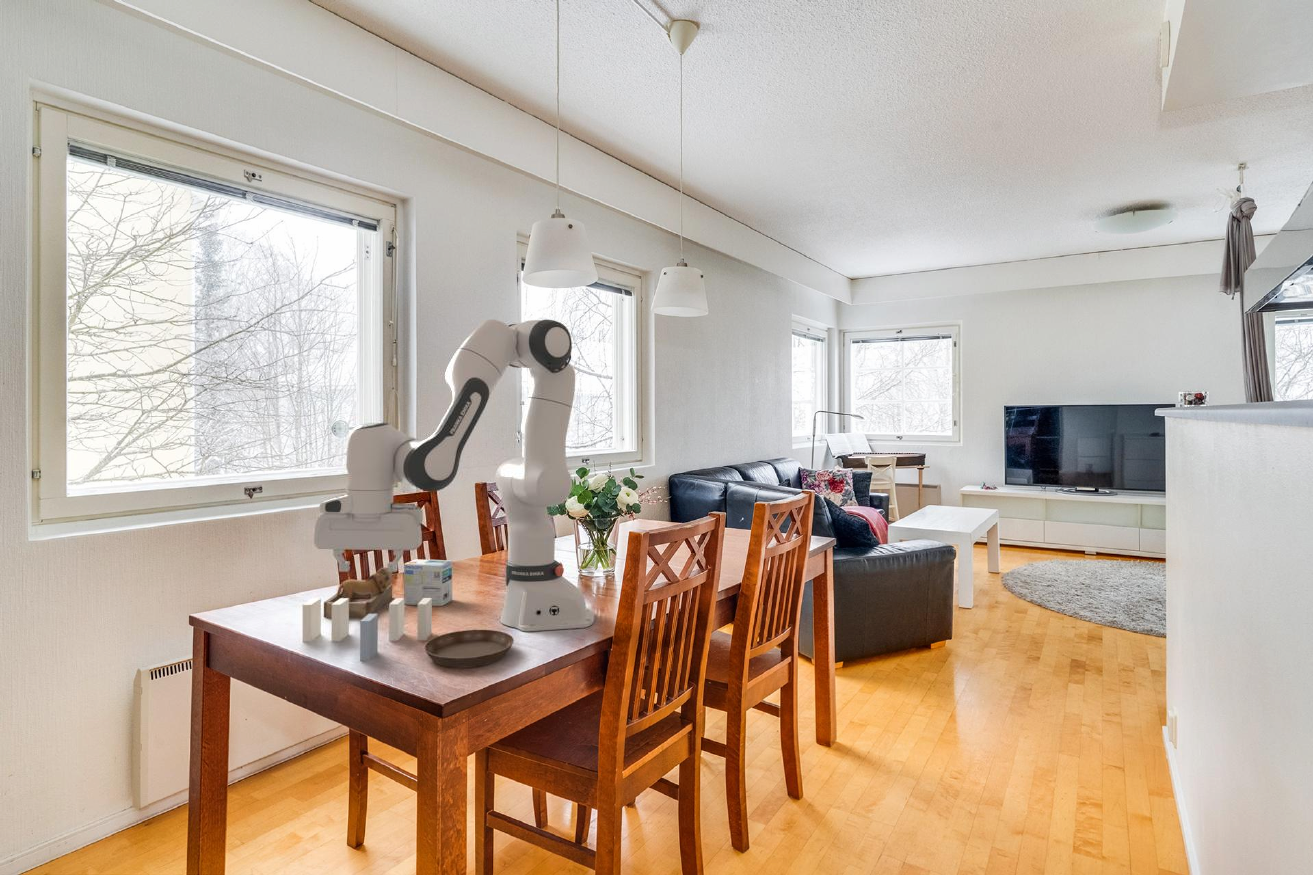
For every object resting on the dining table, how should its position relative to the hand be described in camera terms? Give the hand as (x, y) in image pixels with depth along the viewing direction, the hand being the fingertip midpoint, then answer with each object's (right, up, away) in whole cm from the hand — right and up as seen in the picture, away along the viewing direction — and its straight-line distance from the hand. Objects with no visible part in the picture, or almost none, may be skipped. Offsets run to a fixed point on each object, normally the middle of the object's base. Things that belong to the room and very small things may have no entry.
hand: (368, 571), depth 137 cm
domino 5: (+7, -17, +13) cm, 23 cm away
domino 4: (+1, -17, +13) cm, 21 cm away
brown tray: (-17, -16, +35) cm, 42 cm away
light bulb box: (-2, -16, +41) cm, 44 cm away
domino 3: (0, -17, +1) cm, 17 cm away
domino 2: (-11, -17, +12) cm, 23 cm away
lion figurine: (-16, -16, +36) cm, 42 cm away
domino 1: (-17, -17, +11) cm, 27 cm away
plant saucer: (+20, -18, +2) cm, 27 cm away
